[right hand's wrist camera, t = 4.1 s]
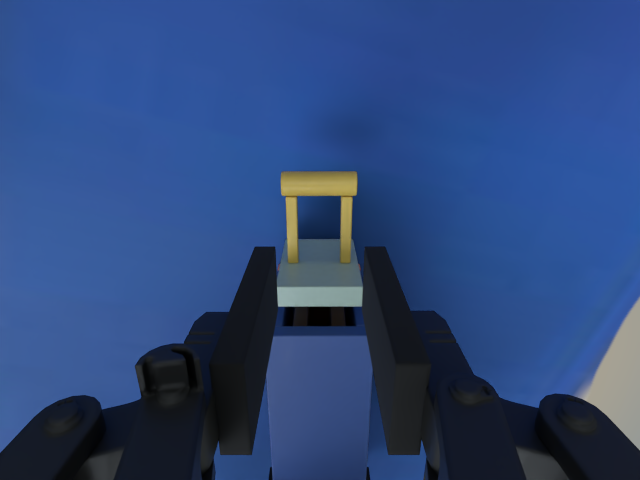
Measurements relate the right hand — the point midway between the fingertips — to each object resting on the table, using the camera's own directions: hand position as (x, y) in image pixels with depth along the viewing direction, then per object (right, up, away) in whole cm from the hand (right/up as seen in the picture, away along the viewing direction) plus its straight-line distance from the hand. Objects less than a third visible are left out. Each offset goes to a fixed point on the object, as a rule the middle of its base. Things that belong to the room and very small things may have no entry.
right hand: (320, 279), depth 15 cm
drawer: (0, -4, +14) cm, 14 cm away
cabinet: (0, -9, +16) cm, 19 cm away
